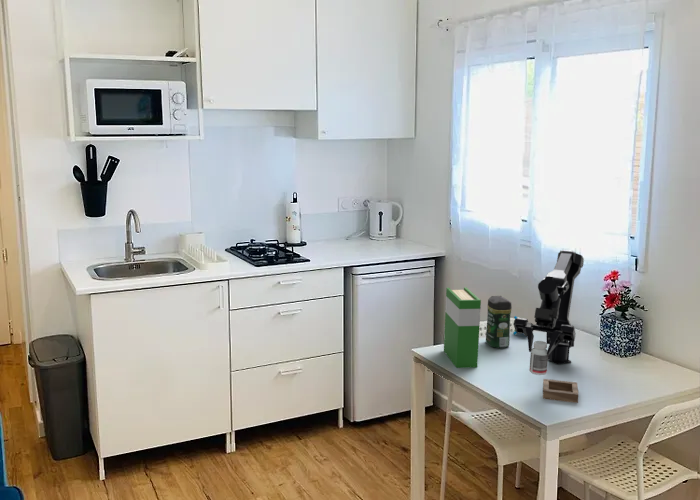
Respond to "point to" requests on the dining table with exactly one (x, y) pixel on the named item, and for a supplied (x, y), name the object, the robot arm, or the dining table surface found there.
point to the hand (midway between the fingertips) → (538, 352)
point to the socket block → (560, 390)
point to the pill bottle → (539, 358)
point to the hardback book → (462, 327)
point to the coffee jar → (498, 322)
